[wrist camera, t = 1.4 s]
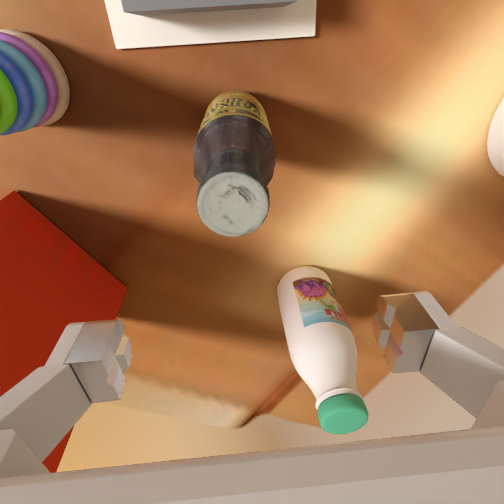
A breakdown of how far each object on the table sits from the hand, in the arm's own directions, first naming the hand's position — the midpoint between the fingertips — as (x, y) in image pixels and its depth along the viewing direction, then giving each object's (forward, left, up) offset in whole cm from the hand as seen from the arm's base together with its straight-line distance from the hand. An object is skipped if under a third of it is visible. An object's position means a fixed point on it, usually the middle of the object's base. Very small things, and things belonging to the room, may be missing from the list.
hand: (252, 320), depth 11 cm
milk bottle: (-8, +23, -29) cm, 38 cm away
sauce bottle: (0, 0, -29) cm, 29 cm away
